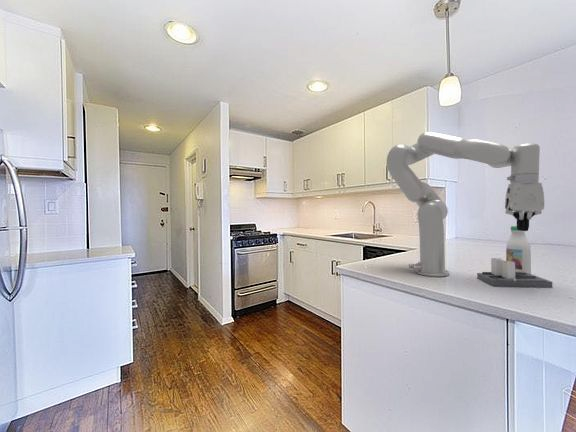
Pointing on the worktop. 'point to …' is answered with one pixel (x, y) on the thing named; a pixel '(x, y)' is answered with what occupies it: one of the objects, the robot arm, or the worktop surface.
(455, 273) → the worktop surface
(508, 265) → the front fader
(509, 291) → the worktop surface
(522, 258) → the milk bottle
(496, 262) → the white rectangular block
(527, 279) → the dark grey tray
